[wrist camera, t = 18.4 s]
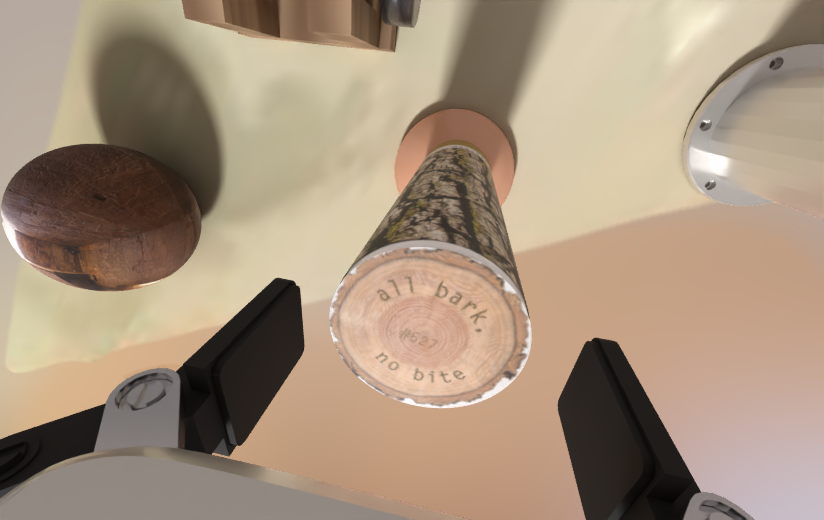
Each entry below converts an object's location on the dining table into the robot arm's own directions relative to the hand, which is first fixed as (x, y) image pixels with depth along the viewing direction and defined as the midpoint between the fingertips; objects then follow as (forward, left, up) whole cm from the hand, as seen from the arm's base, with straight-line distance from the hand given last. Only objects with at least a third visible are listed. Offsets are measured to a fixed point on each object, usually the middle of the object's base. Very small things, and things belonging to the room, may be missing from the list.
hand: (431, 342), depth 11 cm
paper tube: (0, 0, -25) cm, 25 cm away
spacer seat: (0, 0, -26) cm, 26 cm away
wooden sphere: (+34, +8, -26) cm, 44 cm away
